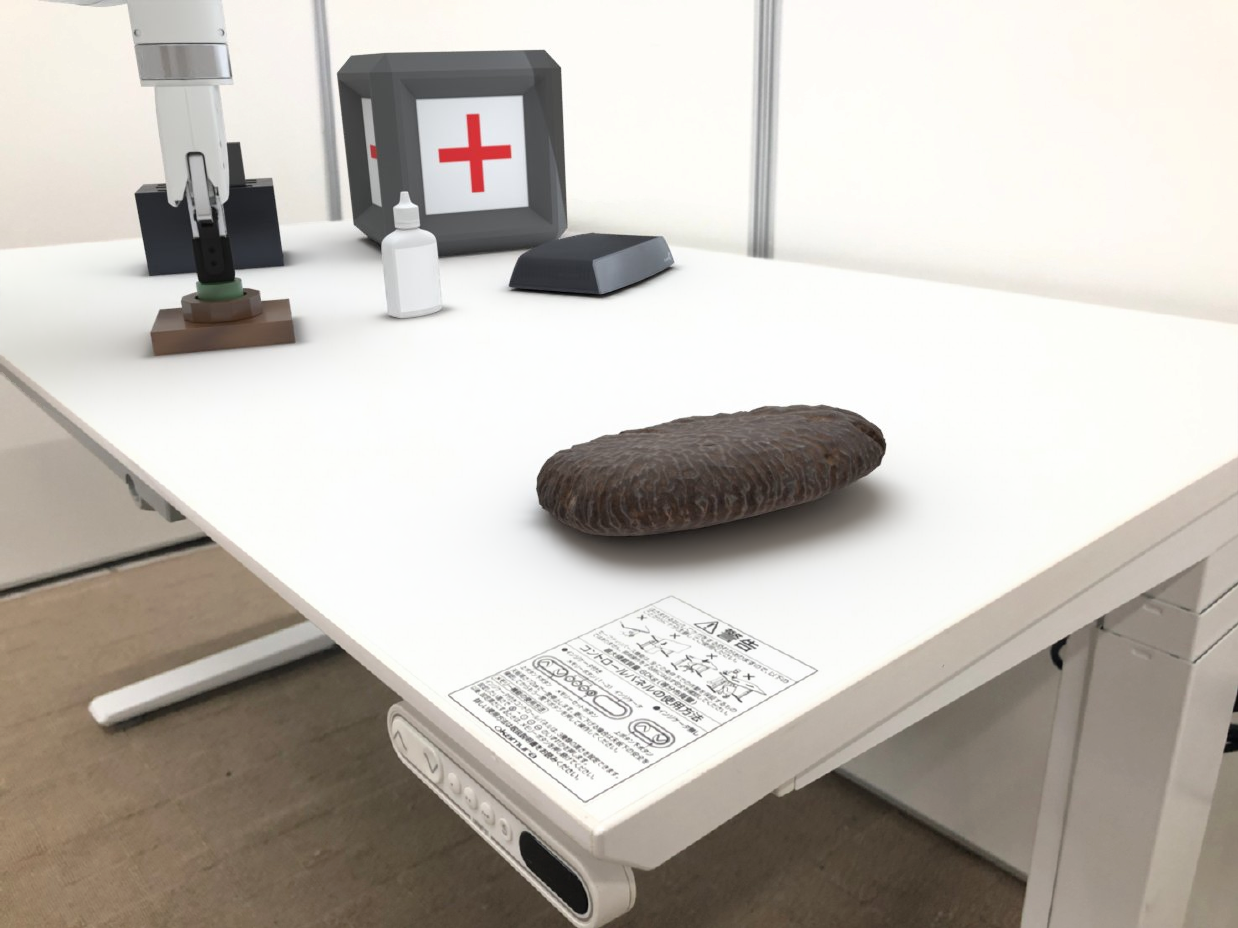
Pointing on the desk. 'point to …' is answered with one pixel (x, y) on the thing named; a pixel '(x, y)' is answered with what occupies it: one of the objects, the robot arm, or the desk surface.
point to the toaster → (245, 222)
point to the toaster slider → (235, 164)
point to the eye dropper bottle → (410, 265)
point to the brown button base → (222, 324)
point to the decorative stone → (708, 469)
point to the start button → (220, 290)
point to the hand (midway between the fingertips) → (217, 280)
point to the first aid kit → (457, 146)
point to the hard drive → (591, 263)
